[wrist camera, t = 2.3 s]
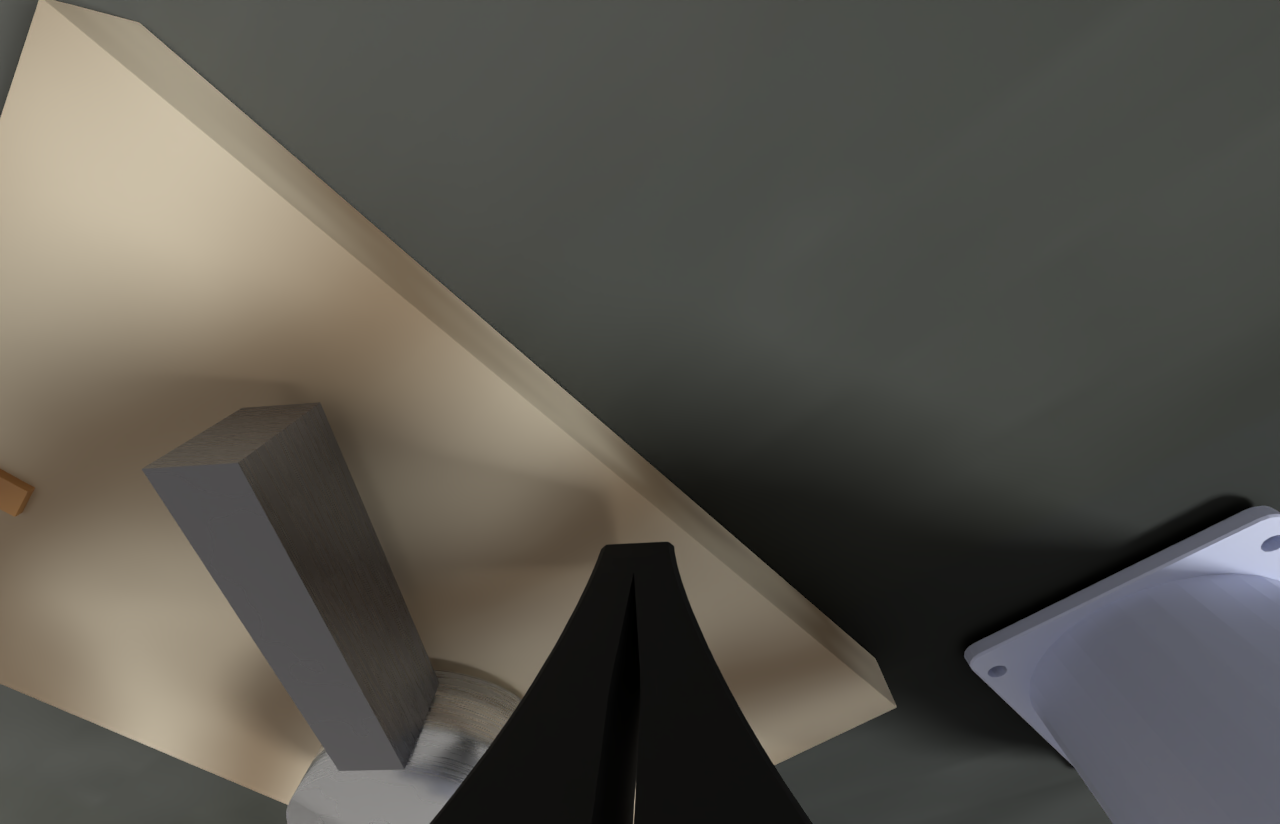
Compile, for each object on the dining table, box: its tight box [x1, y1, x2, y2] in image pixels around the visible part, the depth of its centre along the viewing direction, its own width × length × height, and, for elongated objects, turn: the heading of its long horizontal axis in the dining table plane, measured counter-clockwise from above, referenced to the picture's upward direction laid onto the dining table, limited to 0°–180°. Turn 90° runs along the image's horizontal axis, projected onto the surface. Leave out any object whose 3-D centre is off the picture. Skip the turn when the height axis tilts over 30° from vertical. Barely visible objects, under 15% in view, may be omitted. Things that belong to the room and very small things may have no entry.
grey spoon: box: [142, 402, 522, 824], centre depth 11 cm, size 14×6×2 cm, turn 5°
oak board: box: [0, 0, 897, 824], centre depth 13 cm, size 22×18×4 cm
